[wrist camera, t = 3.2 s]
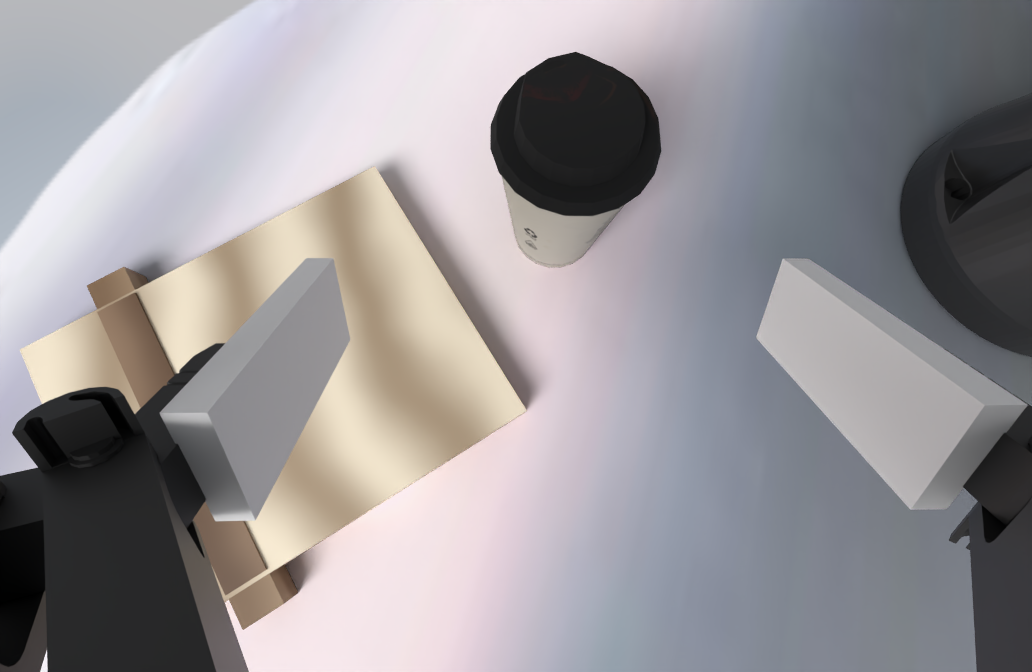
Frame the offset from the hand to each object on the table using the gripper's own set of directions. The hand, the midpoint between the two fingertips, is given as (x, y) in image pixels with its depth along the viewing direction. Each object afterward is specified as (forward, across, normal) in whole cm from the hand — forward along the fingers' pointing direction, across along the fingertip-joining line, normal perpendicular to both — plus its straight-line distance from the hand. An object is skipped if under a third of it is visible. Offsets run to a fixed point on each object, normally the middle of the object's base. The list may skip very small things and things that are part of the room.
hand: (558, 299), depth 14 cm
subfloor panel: (+8, -13, -9) cm, 18 cm away
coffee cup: (+14, +1, -3) cm, 14 cm away
